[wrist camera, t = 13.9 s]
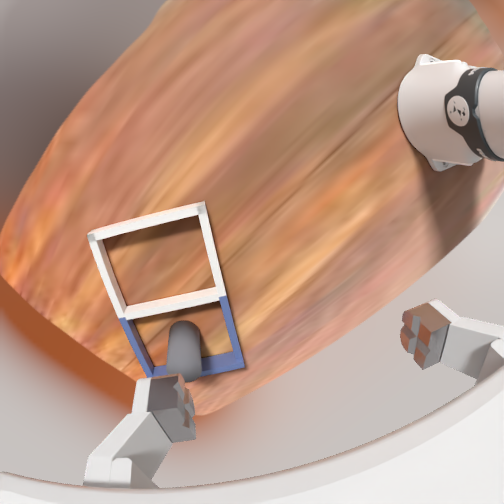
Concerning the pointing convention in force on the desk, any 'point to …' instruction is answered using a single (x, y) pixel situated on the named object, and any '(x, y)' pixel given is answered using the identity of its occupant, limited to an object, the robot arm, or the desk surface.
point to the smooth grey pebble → (184, 351)
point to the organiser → (171, 303)
